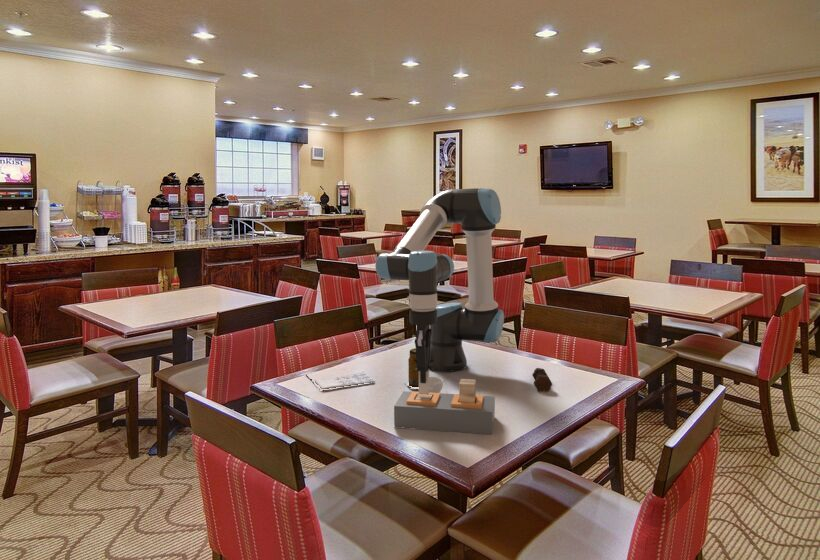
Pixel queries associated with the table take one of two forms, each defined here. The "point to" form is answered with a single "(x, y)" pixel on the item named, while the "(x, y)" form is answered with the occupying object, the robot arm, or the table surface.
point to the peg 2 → (467, 391)
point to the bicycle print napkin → (353, 380)
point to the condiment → (413, 369)
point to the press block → (445, 413)
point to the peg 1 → (423, 397)
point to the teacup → (435, 385)
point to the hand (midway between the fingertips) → (424, 392)
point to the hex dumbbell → (541, 380)
